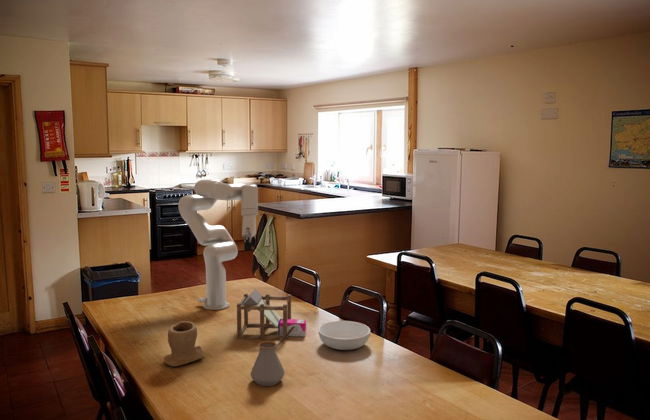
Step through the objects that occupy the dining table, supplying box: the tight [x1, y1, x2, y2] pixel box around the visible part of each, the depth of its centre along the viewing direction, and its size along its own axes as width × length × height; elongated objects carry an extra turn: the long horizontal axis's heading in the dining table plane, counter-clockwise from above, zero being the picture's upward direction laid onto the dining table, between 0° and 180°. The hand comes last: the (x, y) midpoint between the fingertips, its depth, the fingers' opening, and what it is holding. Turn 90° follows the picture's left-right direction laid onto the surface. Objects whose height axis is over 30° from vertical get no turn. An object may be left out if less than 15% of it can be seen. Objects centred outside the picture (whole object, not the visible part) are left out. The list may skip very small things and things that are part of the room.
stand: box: [236, 293, 292, 340], centre depth 227 cm, size 21×16×14 cm
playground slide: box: [243, 288, 282, 329], centre depth 226 cm, size 17×13×5 cm
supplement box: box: [277, 318, 307, 337], centre depth 225 cm, size 6×6×12 cm
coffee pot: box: [250, 326, 297, 387], centre depth 183 cm, size 21×12×15 cm, turn 147°
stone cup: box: [162, 320, 205, 367], centre depth 195 cm, size 15×12×15 cm
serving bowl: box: [317, 320, 371, 351], centre depth 213 cm, size 21×21×7 cm
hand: (250, 248), depth 244 cm, fingers open, 9 cm apart
